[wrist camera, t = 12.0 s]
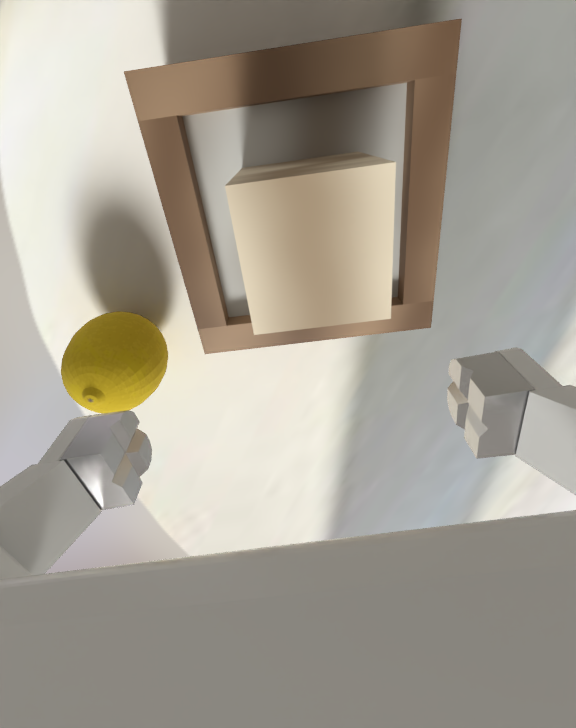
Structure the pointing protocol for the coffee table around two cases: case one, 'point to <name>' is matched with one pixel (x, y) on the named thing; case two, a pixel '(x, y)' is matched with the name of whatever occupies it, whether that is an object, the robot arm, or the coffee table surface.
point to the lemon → (114, 362)
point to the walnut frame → (300, 157)
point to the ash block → (315, 240)
